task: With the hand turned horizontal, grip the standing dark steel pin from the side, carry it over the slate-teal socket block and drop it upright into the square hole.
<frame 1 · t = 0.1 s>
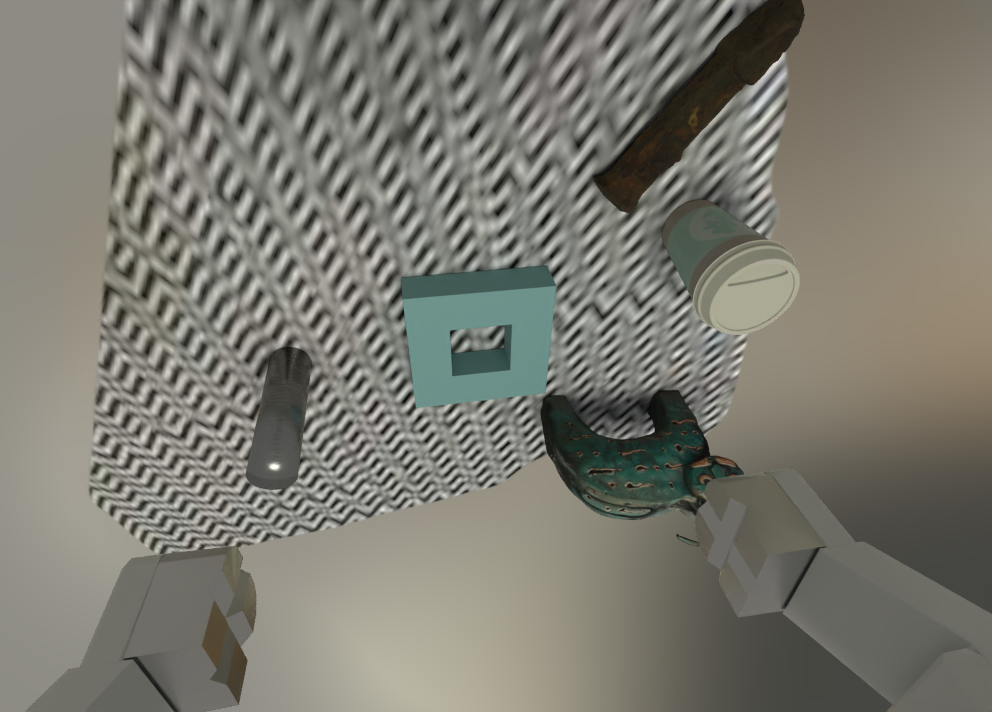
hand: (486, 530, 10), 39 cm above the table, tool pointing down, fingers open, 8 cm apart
steel pin: (290, 362, 55), on the table
socket block: (476, 329, 57), on the table
coffee cup: (689, 226, 53), on the table
hand tool: (678, 95, 45), on the table
ceramic cat: (612, 402, 68), on the table
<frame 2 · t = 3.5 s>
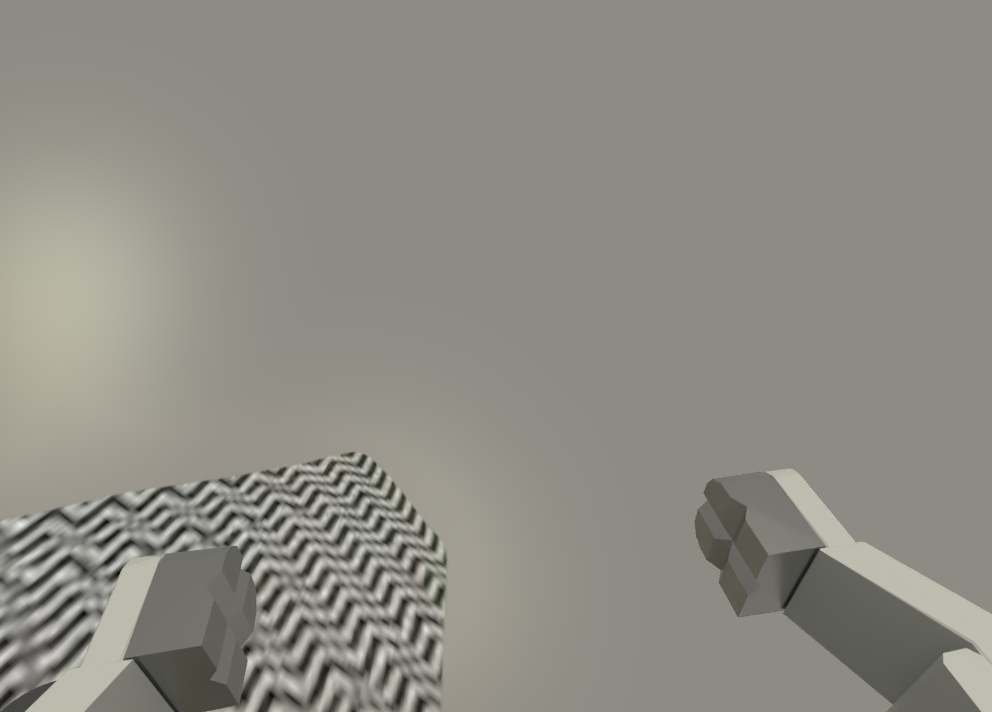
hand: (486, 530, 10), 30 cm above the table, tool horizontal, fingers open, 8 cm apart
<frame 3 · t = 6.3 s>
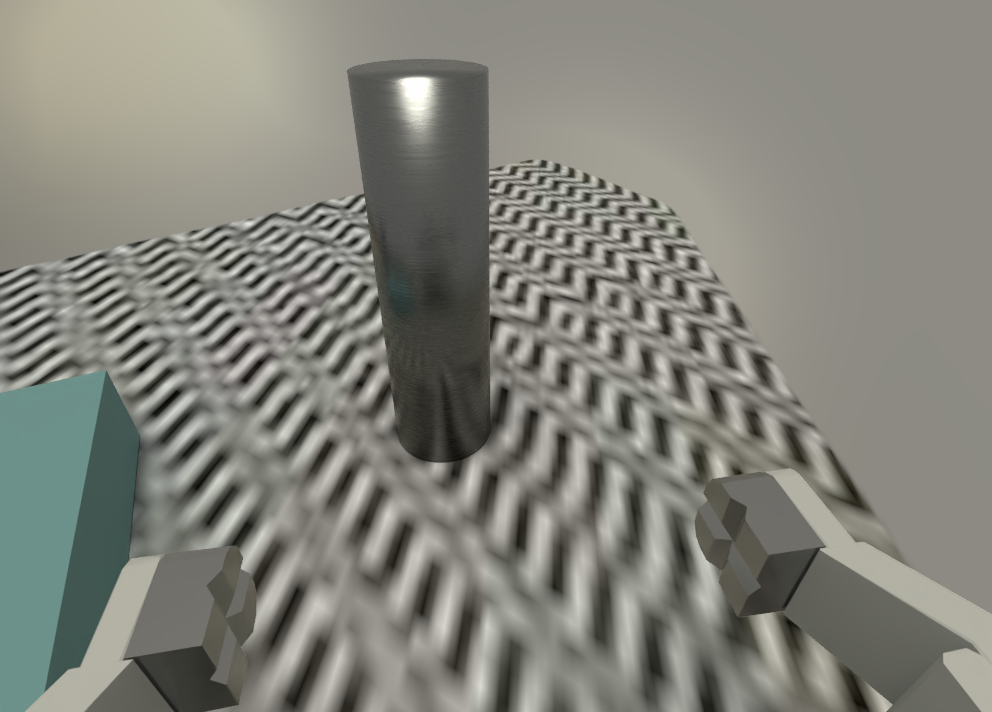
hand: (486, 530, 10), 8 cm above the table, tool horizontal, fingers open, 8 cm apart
steel pin: (444, 428, 24), on the table
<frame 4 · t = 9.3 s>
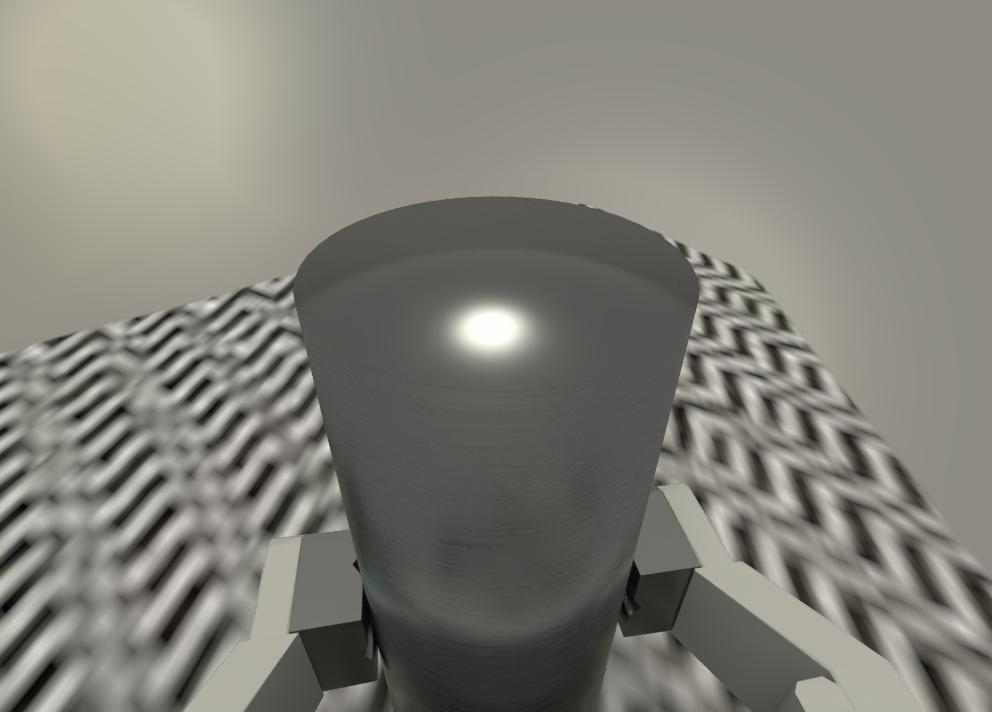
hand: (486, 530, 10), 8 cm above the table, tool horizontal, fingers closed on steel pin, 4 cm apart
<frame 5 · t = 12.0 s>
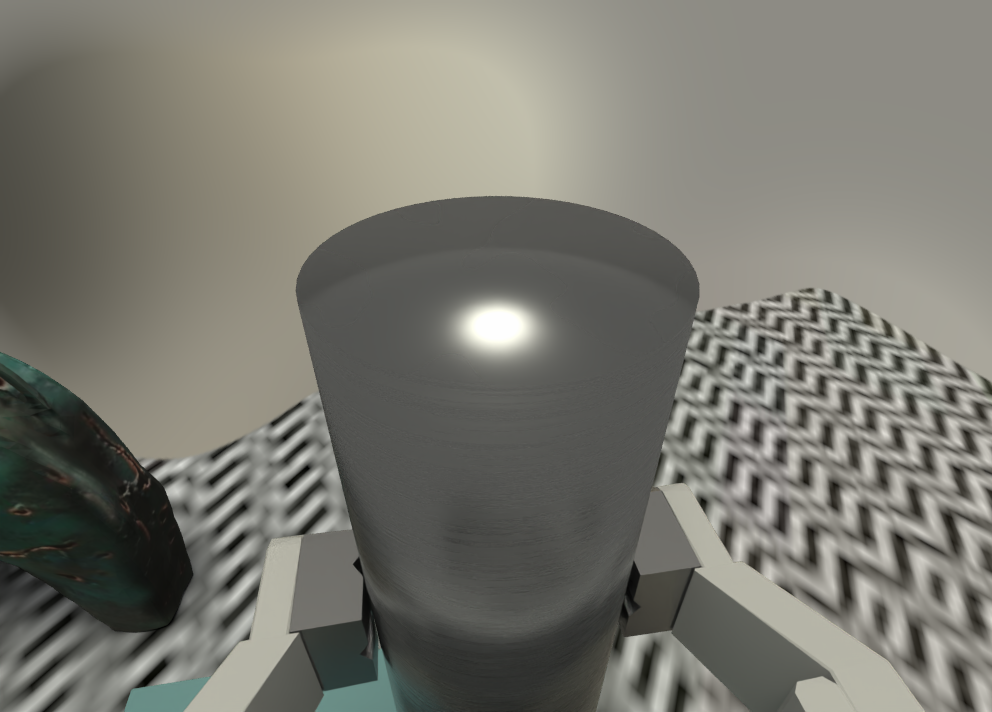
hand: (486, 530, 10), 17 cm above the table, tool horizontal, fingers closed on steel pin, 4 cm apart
when the fingers open (10 cm above the table, at t = 14.6 s): steel pin drops 1 cm, resting in socket block.
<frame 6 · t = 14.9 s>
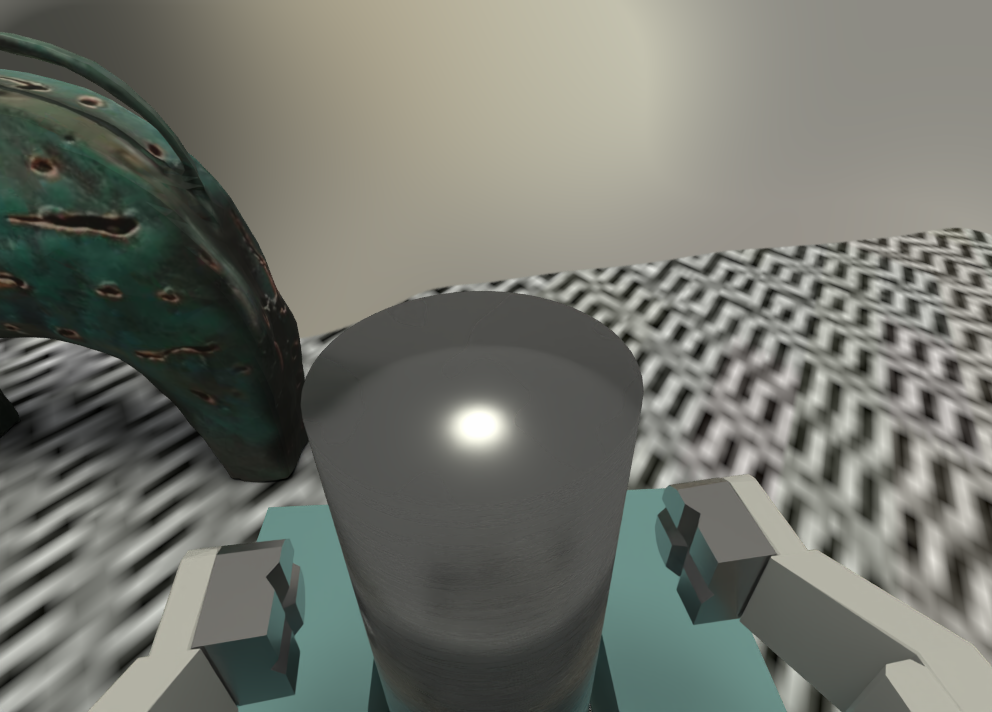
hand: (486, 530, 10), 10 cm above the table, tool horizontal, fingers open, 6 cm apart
ceramic cat: (108, 448, 25), on the table
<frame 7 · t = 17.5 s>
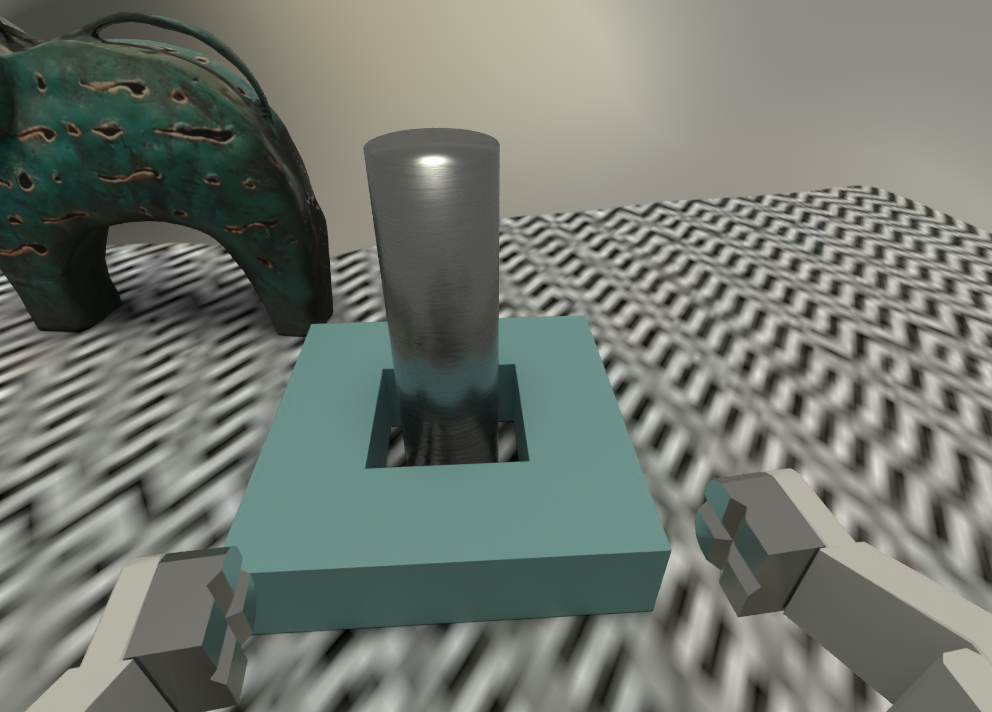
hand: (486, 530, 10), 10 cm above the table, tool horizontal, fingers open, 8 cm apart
steel pin: (453, 469, 24), resting in socket block
socket block: (452, 469, 24), on the table
ceramic cat: (187, 320, 35), on the table
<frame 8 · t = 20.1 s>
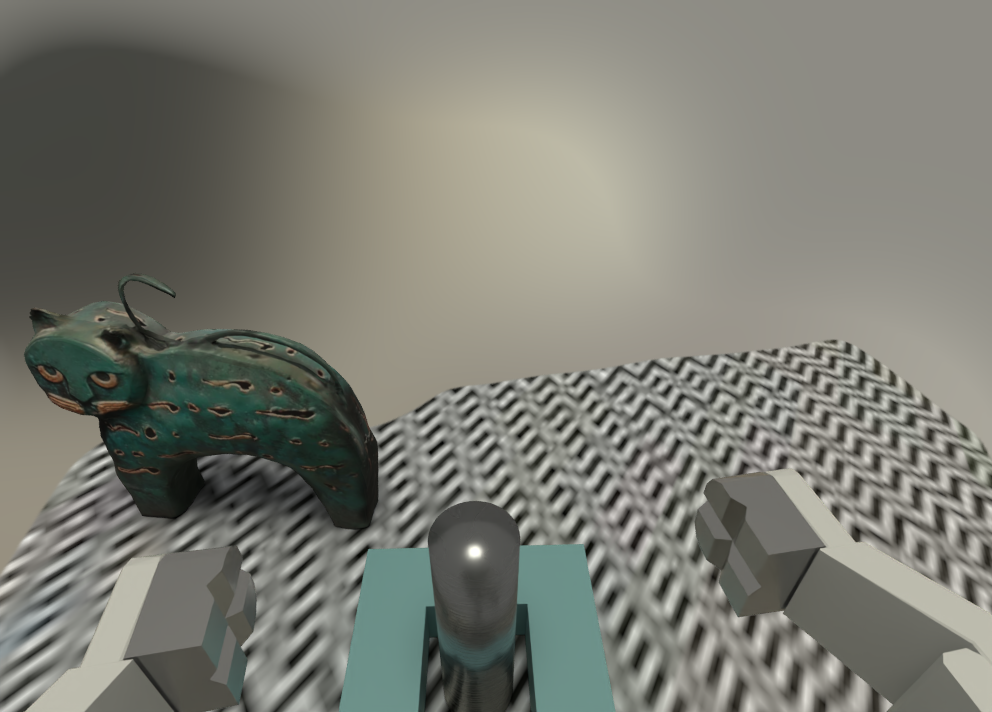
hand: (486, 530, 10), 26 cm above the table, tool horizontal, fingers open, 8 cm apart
steel pin: (478, 686, 32), resting in socket block
socket block: (477, 687, 32), on the table
ceramic cat: (259, 504, 43), on the table
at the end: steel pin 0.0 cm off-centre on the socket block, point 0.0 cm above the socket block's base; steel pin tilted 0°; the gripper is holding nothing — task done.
